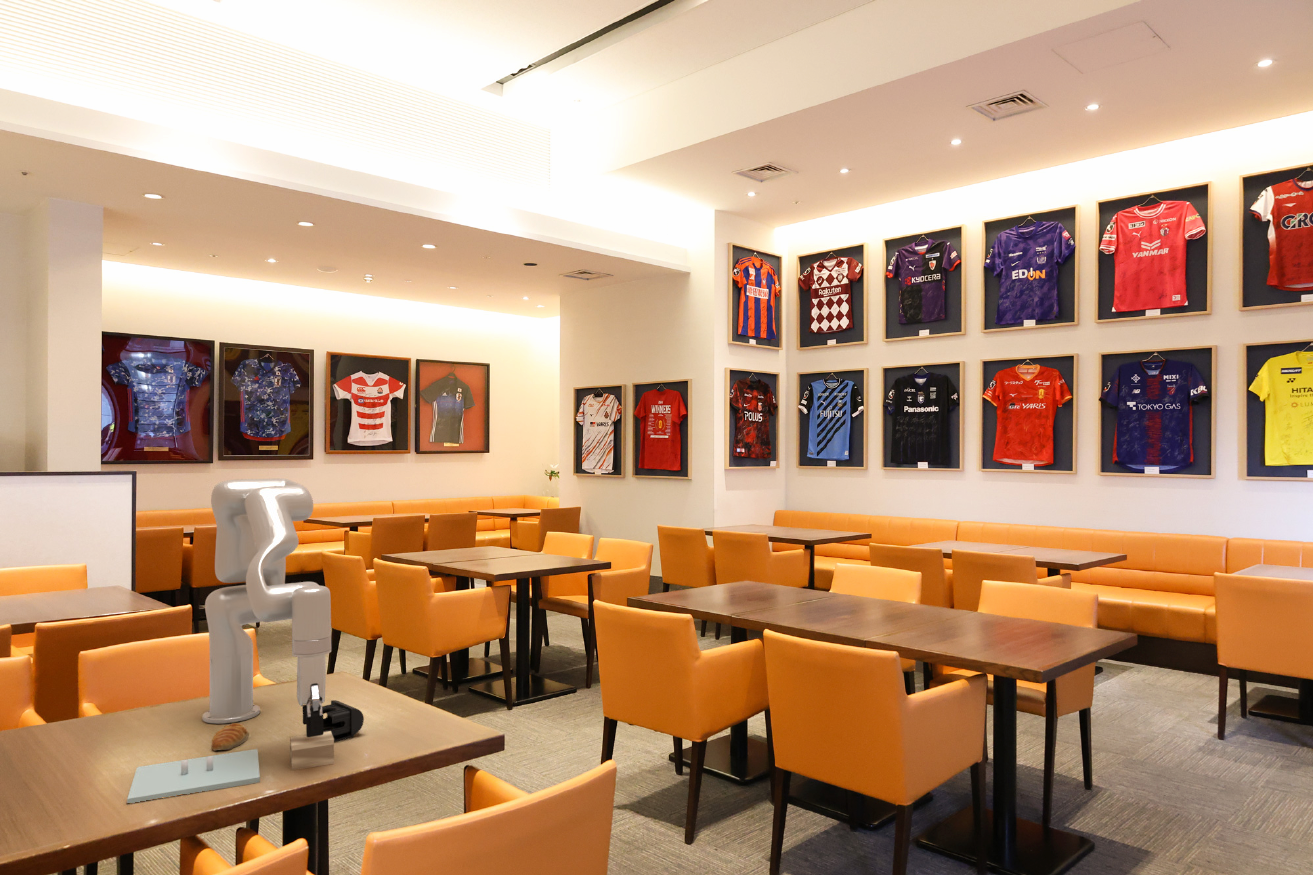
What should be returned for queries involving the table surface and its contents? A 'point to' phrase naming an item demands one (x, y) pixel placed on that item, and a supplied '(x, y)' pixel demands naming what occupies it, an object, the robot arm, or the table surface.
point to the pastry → (229, 737)
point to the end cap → (342, 720)
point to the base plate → (194, 775)
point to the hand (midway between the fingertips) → (312, 729)
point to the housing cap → (311, 750)
